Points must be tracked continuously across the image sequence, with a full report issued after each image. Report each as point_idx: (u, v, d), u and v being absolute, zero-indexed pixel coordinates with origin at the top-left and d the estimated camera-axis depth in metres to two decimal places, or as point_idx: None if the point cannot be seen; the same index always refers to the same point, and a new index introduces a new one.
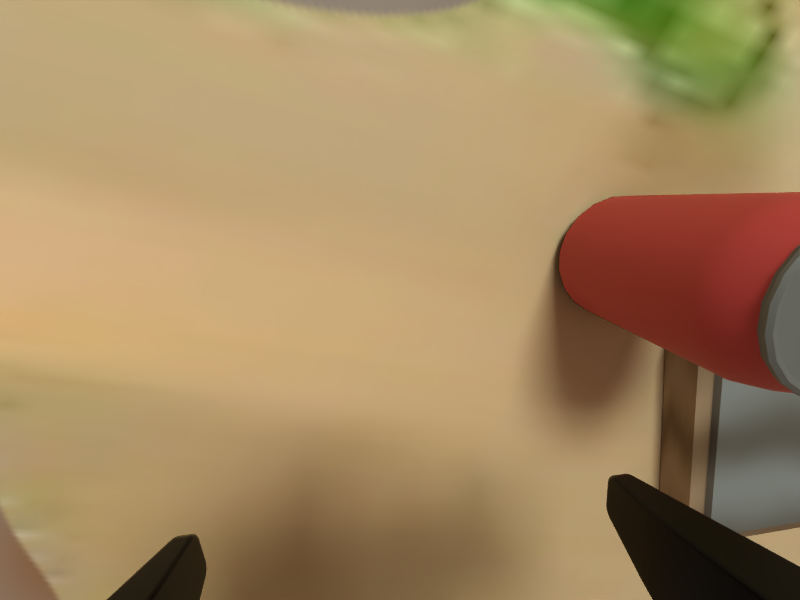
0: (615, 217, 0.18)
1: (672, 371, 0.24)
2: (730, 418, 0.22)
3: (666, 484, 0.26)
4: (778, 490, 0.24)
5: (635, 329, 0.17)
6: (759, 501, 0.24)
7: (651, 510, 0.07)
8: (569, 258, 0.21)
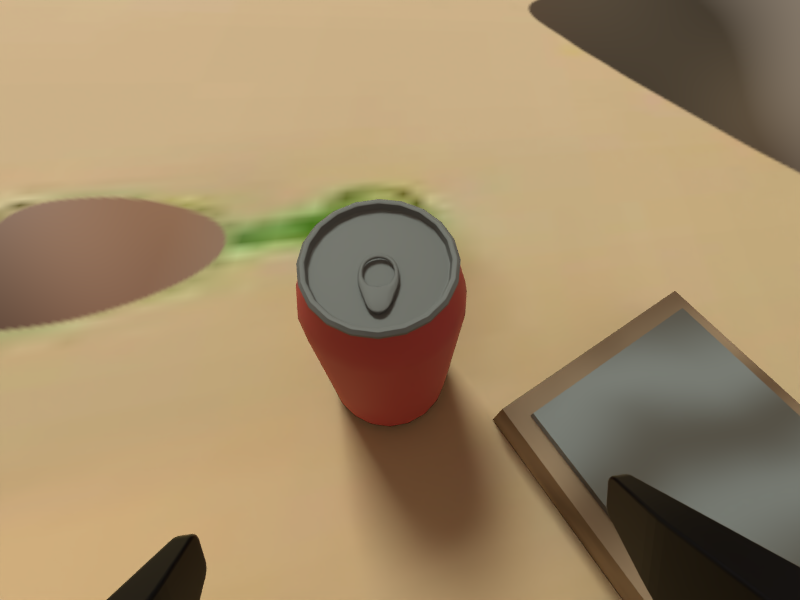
0: None
1: (517, 447, 0.21)
2: (586, 459, 0.19)
3: None
4: (733, 527, 0.17)
5: (358, 396, 0.17)
6: None
7: (651, 510, 0.07)
8: None
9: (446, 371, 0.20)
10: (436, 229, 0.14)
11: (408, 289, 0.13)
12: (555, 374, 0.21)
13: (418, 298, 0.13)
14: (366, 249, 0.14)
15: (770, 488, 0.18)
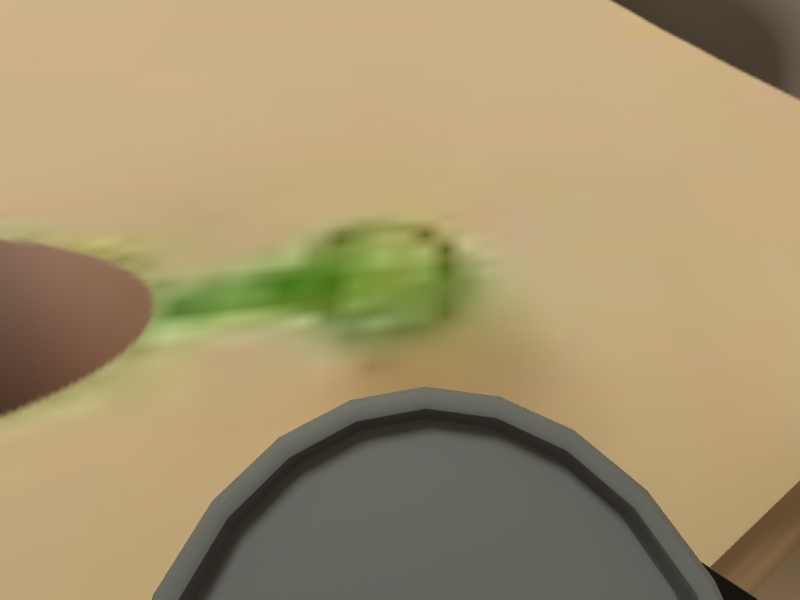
0: None
1: None
2: None
3: None
4: None
5: None
6: None
7: None
8: None
9: None
10: (634, 522, 0.04)
11: None
12: None
13: None
14: None
15: None
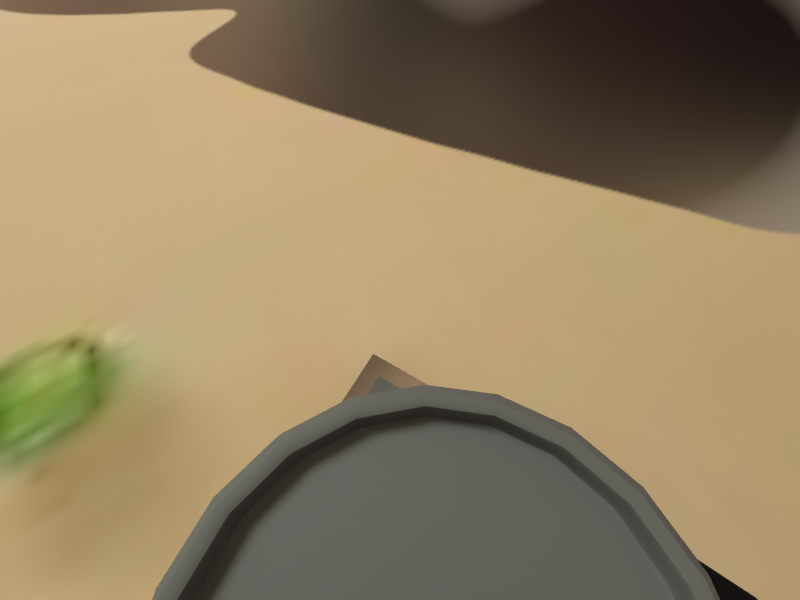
0: None
1: None
2: None
3: None
4: None
5: None
6: None
7: None
8: None
9: None
10: (631, 518, 0.04)
11: None
12: None
13: None
14: None
15: None
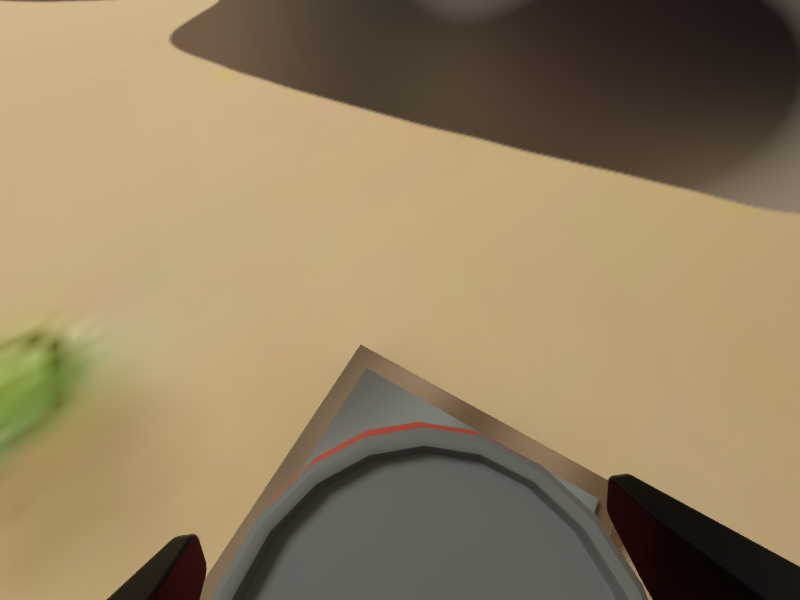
0: None
1: None
2: None
3: None
4: None
5: None
6: None
7: (651, 510, 0.07)
8: None
9: None
10: (584, 538, 0.05)
11: None
12: (234, 538, 0.16)
13: None
14: None
15: None
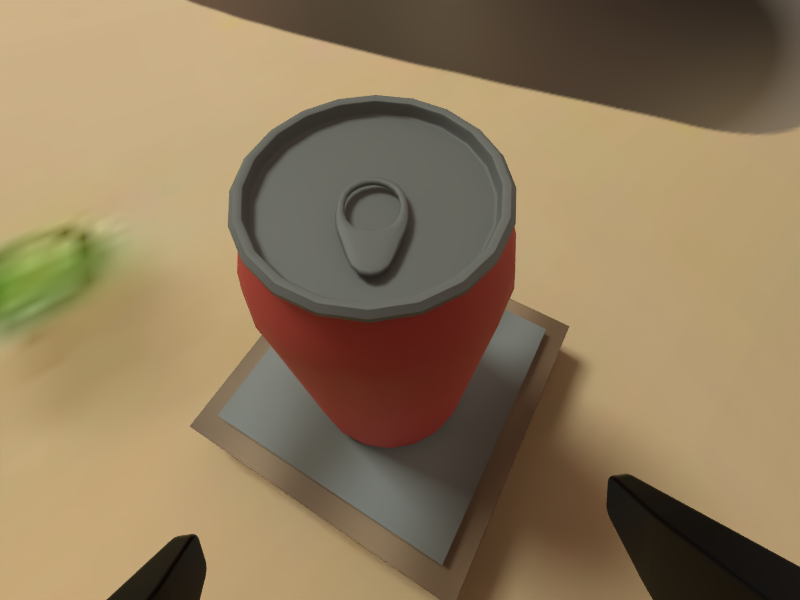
0: None
1: None
2: (281, 437, 0.17)
3: None
4: None
5: (343, 413, 0.11)
6: (431, 461, 0.17)
7: (651, 510, 0.07)
8: None
9: None
10: (472, 142, 0.08)
11: (425, 237, 0.07)
12: (243, 360, 0.19)
13: (443, 252, 0.07)
14: (352, 172, 0.08)
15: None
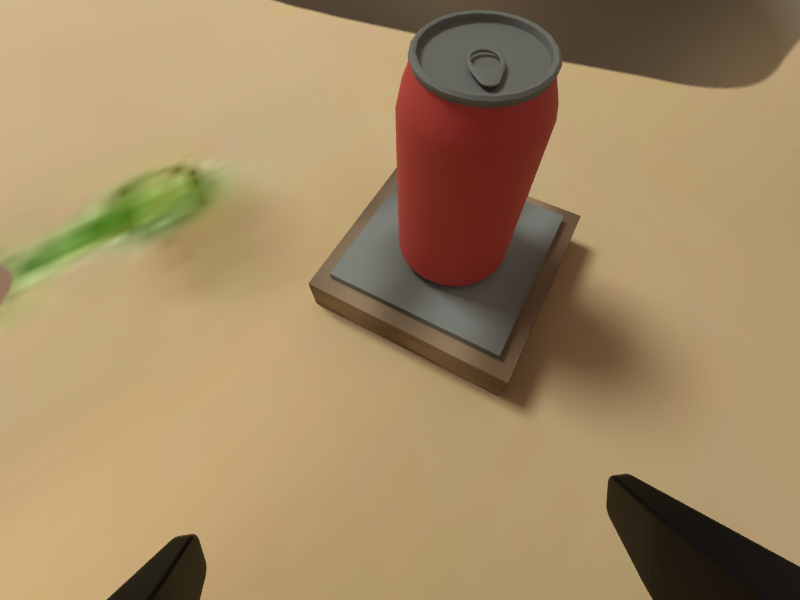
0: None
1: (339, 310, 0.26)
2: (377, 285, 0.24)
3: (452, 368, 0.24)
4: (485, 279, 0.24)
5: (445, 222, 0.18)
6: (486, 297, 0.23)
7: (651, 510, 0.07)
8: (403, 246, 0.23)
9: None
10: (533, 32, 0.15)
11: (514, 74, 0.14)
12: (340, 242, 0.26)
13: (524, 80, 0.14)
14: (469, 48, 0.15)
15: None
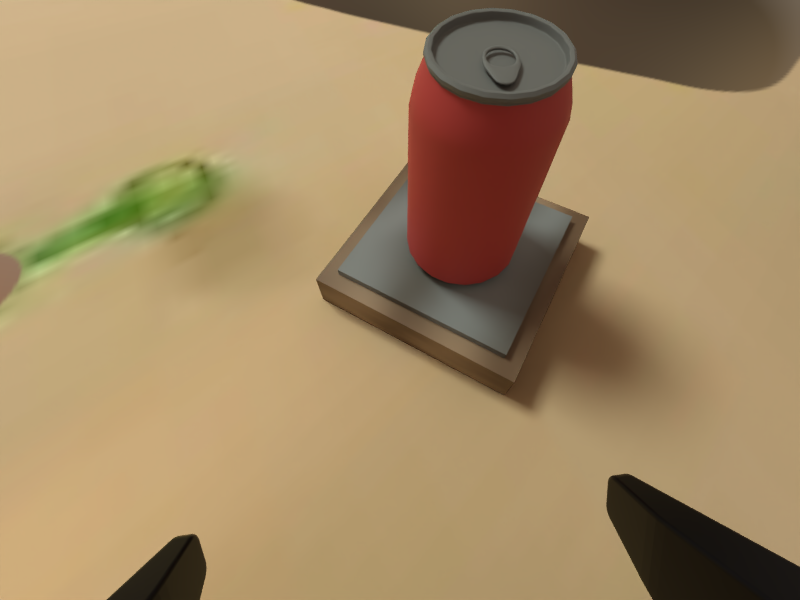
0: None
1: (345, 306, 0.26)
2: (385, 282, 0.24)
3: (458, 366, 0.24)
4: (492, 278, 0.24)
5: (455, 219, 0.18)
6: (494, 296, 0.23)
7: (651, 510, 0.07)
8: (412, 244, 0.23)
9: (528, 216, 0.20)
10: (549, 30, 0.15)
11: (529, 72, 0.14)
12: (348, 239, 0.26)
13: (540, 78, 0.14)
14: (484, 46, 0.15)
15: None
